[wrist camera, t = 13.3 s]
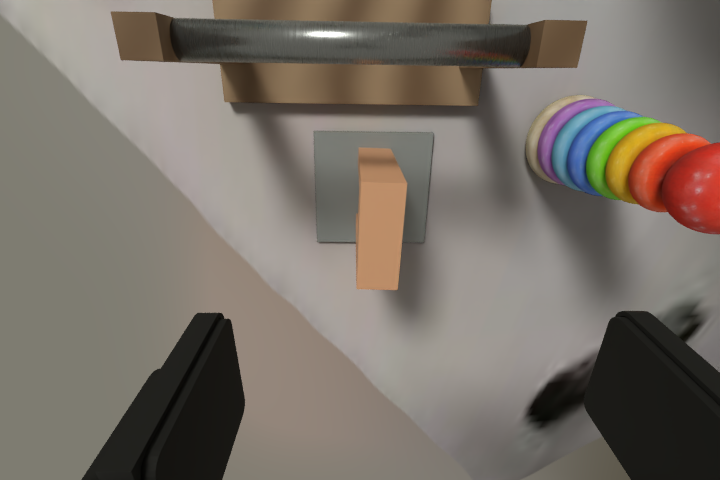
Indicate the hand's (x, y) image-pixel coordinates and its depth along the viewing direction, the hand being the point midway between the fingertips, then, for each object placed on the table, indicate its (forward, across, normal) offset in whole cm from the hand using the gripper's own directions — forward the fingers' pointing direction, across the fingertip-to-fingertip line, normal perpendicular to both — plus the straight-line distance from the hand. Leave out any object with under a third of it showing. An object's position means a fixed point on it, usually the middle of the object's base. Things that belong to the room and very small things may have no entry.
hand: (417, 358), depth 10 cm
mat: (+29, 0, +5) cm, 29 cm away
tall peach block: (+29, 0, +5) cm, 29 cm away
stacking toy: (+30, -18, 0) cm, 35 cm away
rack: (+29, +2, -7) cm, 30 cm away
